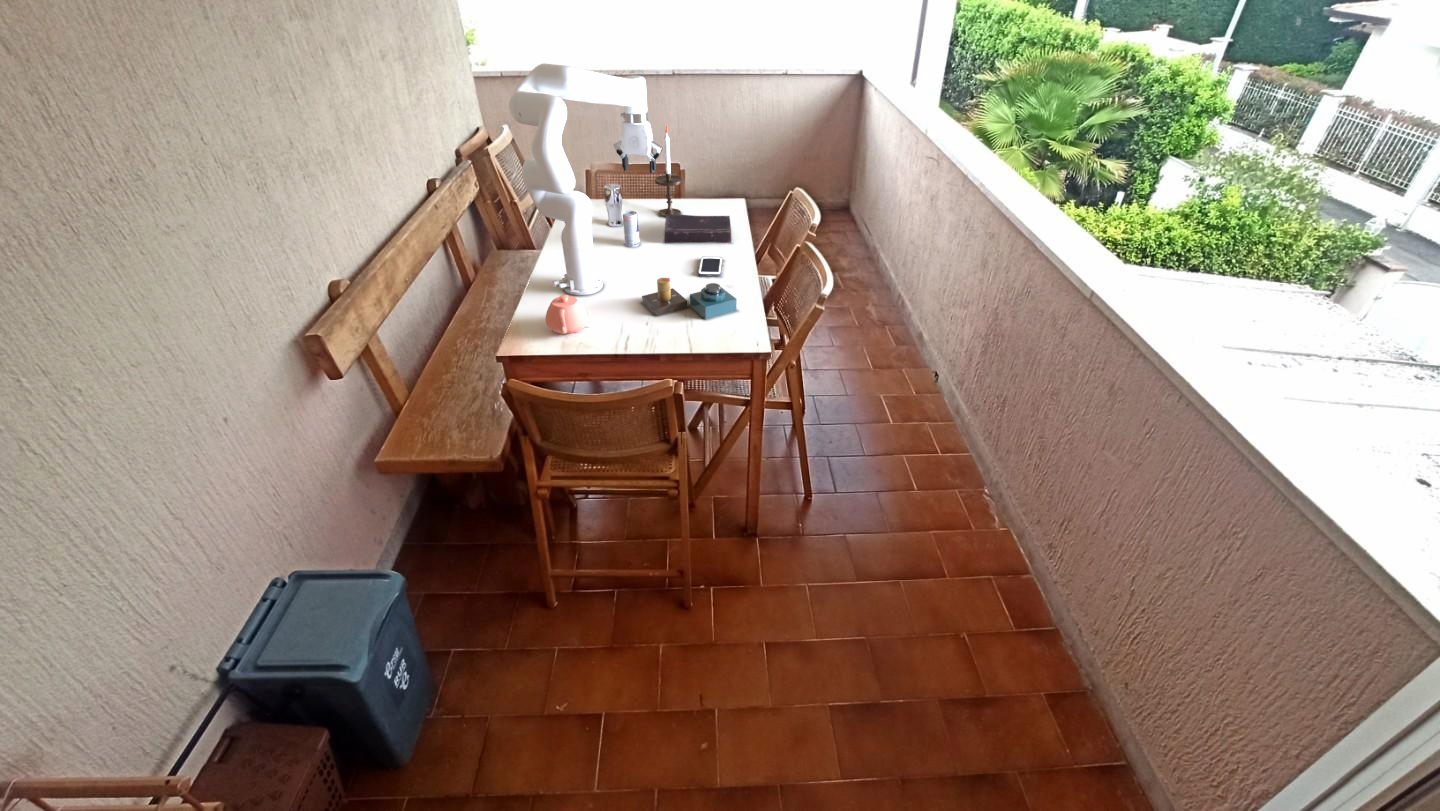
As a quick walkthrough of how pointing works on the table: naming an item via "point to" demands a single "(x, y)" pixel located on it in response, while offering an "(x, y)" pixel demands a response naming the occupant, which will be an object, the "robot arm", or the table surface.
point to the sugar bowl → (566, 315)
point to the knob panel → (664, 303)
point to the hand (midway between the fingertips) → (639, 171)
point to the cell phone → (710, 266)
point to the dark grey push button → (712, 289)
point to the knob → (664, 289)
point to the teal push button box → (712, 303)
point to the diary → (697, 229)
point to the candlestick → (668, 181)
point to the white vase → (613, 204)
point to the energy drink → (631, 228)
